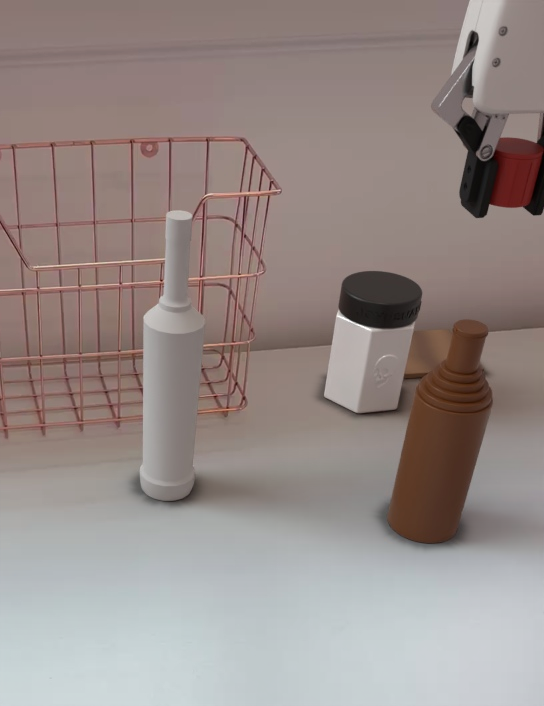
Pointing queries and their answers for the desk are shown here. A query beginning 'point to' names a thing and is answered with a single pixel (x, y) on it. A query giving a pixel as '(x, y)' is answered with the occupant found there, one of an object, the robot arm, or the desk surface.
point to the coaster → (427, 352)
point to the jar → (372, 340)
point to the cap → (515, 172)
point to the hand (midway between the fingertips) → (500, 207)
